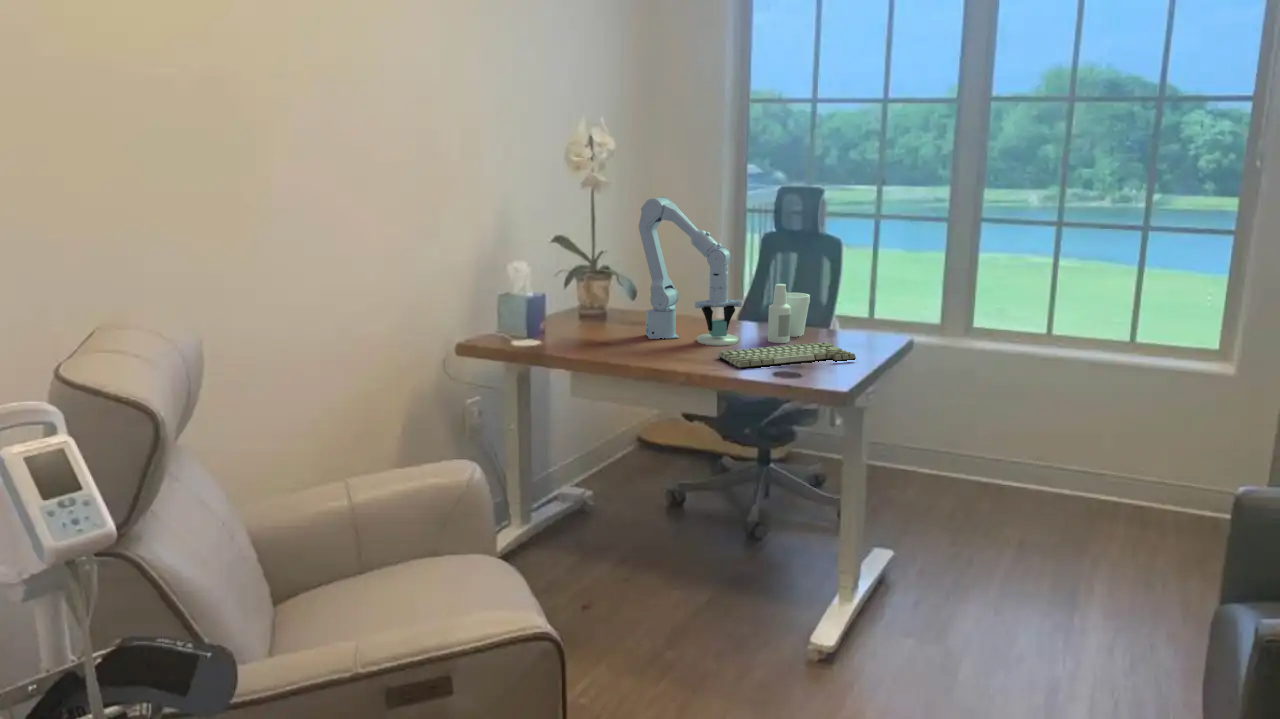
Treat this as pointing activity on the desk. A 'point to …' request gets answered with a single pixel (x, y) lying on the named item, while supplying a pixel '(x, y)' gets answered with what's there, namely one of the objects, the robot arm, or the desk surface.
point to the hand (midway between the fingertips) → (717, 330)
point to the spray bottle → (779, 316)
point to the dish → (717, 340)
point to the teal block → (718, 328)
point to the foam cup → (798, 312)
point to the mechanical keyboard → (784, 355)
